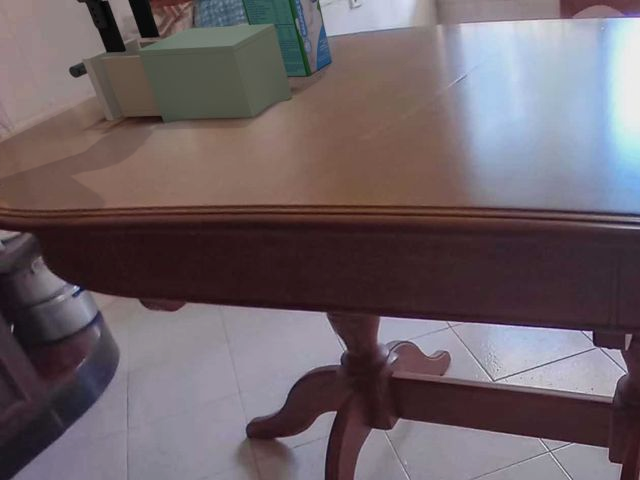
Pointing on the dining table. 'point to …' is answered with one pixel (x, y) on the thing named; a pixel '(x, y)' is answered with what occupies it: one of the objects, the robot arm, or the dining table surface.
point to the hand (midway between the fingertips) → (134, 44)
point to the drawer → (120, 81)
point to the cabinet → (216, 72)
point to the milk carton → (294, 32)
